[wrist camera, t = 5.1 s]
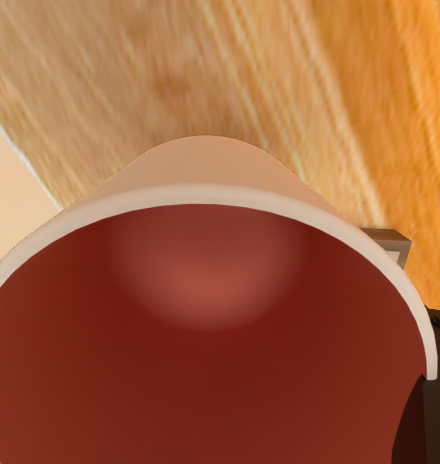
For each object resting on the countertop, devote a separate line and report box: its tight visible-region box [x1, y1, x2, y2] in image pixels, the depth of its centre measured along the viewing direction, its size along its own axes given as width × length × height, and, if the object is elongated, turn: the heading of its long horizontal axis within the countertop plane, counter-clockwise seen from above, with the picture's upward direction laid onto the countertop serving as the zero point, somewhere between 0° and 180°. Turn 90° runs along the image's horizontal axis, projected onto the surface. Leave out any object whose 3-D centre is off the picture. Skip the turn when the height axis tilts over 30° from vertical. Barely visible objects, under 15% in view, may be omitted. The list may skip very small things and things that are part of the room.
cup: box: [0, 135, 437, 464], centre depth 11 cm, size 10×10×10 cm
